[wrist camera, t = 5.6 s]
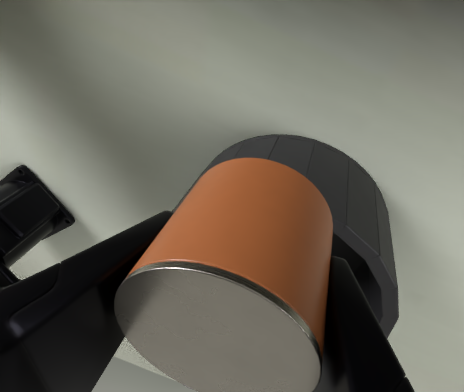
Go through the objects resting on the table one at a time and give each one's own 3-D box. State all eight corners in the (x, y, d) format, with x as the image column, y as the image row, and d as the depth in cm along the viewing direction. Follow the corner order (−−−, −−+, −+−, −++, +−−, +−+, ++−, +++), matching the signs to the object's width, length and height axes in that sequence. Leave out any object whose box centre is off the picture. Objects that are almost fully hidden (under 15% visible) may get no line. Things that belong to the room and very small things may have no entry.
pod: (239, 284, 12) (195, 406, 9) (165, 190, 11) (76, 293, 7) (359, 255, 10) (362, 408, 6) (284, 129, 8) (236, 240, 5)
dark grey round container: (254, 298, 28) (231, 371, 23) (163, 179, 24) (110, 236, 19) (418, 269, 21) (437, 363, 16) (333, 94, 17) (322, 147, 12)
